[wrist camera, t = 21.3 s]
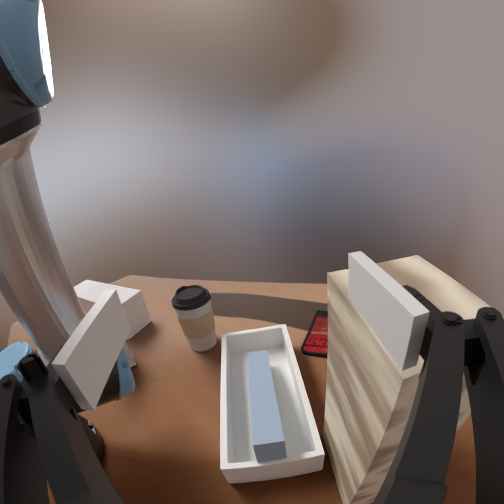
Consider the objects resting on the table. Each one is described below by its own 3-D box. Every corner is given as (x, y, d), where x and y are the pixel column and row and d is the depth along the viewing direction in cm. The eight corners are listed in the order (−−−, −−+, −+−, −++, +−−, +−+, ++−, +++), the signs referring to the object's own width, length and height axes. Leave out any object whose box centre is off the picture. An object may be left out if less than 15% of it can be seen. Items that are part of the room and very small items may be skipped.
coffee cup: (228, 338, 67) (216, 285, 62) (203, 359, 61) (186, 304, 56) (203, 328, 73) (190, 278, 68) (178, 346, 66) (161, 295, 61)
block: (257, 462, 29) (252, 445, 29) (250, 368, 55) (247, 352, 54) (287, 458, 29) (284, 440, 29) (269, 365, 55) (266, 349, 54)
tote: (229, 483, 31) (220, 469, 29) (227, 354, 62) (221, 333, 60) (322, 469, 31) (324, 454, 29) (287, 344, 62) (285, 323, 60)
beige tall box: (345, 511, 23) (403, 379, 13) (322, 436, 37) (327, 272, 27) (415, 484, 23) (513, 324, 13) (383, 418, 37) (417, 255, 27)
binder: (316, 309, 71) (396, 315, 61) (317, 316, 72) (395, 322, 62) (298, 350, 58) (393, 361, 48) (298, 357, 59) (392, 368, 49)
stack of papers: (76, 318, 84) (65, 292, 81) (96, 305, 93) (86, 279, 89) (128, 340, 70) (114, 308, 67) (151, 321, 79) (141, 290, 75)
